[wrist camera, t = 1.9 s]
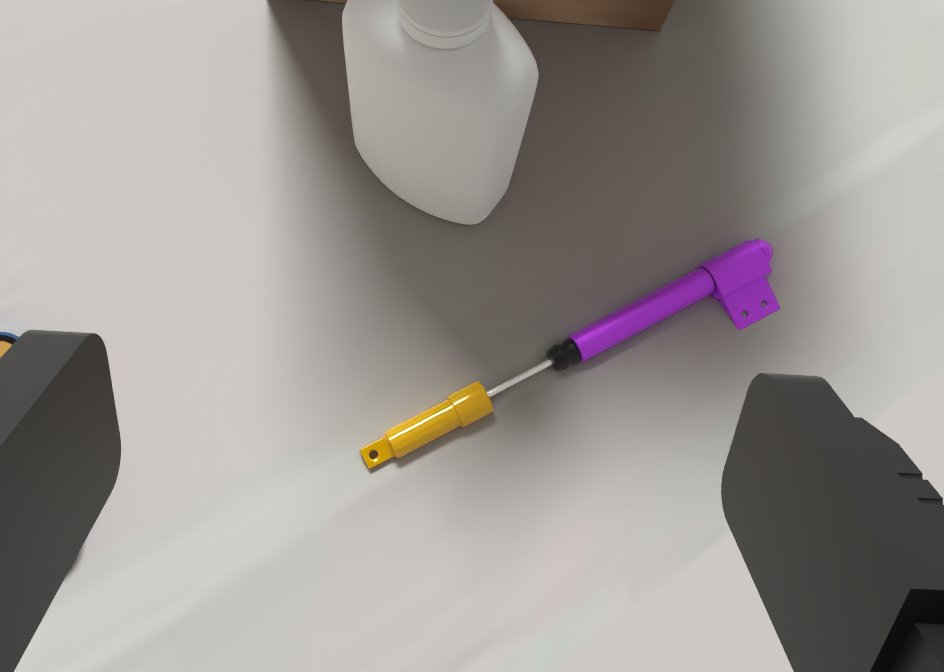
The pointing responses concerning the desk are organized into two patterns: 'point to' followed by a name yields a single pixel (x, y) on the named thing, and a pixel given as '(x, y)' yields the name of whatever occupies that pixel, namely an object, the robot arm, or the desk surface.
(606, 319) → the linear piston actuator
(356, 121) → the eye dropper bottle
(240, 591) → the desk surface
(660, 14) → the box
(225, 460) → the desk surface
